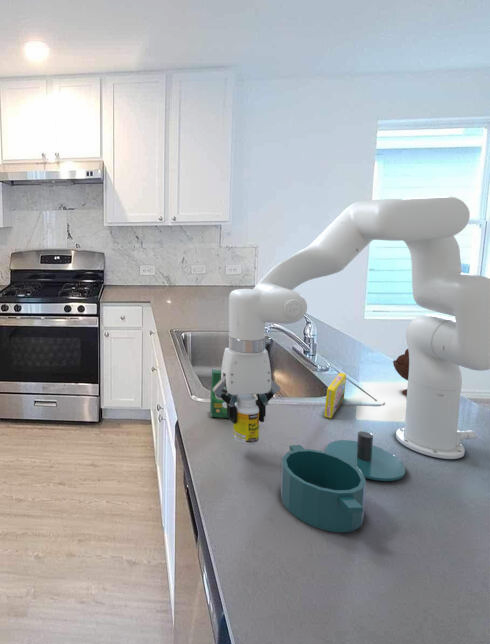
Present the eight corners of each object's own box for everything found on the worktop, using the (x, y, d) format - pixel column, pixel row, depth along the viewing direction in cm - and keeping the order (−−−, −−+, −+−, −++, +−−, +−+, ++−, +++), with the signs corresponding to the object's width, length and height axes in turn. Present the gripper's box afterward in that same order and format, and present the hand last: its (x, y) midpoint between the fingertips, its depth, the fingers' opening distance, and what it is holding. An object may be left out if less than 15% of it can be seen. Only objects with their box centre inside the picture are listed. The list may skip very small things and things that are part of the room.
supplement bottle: (249, 448, 90) (249, 405, 89) (228, 438, 95) (228, 396, 94) (264, 440, 94) (264, 398, 92) (243, 430, 98) (243, 390, 97)
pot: (324, 473, 88) (326, 440, 87) (393, 543, 69) (396, 502, 68) (262, 475, 87) (263, 443, 86) (314, 546, 68) (316, 505, 68)
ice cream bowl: (383, 386, 131) (386, 341, 129) (421, 388, 129) (425, 342, 128) (404, 401, 120) (408, 352, 119) (446, 403, 119) (450, 353, 117)
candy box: (332, 419, 111) (334, 390, 110) (323, 417, 112) (325, 388, 111) (345, 399, 123) (346, 373, 122) (336, 397, 124) (338, 371, 123)
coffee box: (239, 414, 114) (240, 370, 113) (241, 419, 112) (242, 373, 110) (210, 413, 116) (210, 368, 114) (211, 417, 113) (211, 372, 112)
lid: (371, 443, 99) (373, 417, 98) (423, 482, 84) (426, 452, 83) (312, 445, 98) (313, 419, 98) (353, 485, 84) (355, 454, 83)
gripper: (275, 337, 95) (274, 410, 98) (203, 341, 95) (204, 414, 97) (293, 347, 88) (291, 426, 90) (214, 351, 88) (214, 430, 90)
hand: (246, 419), depth 94 cm, fingers closed on supplement bottle, 5 cm apart
